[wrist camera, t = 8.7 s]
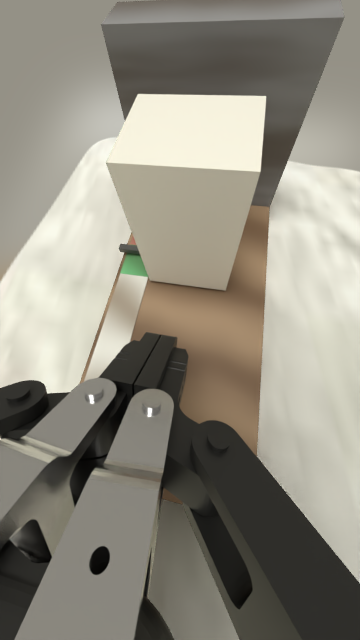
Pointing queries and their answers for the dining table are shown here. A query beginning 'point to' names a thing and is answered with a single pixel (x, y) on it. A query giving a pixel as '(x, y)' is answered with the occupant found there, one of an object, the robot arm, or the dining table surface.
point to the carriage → (188, 182)
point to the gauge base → (217, 336)
